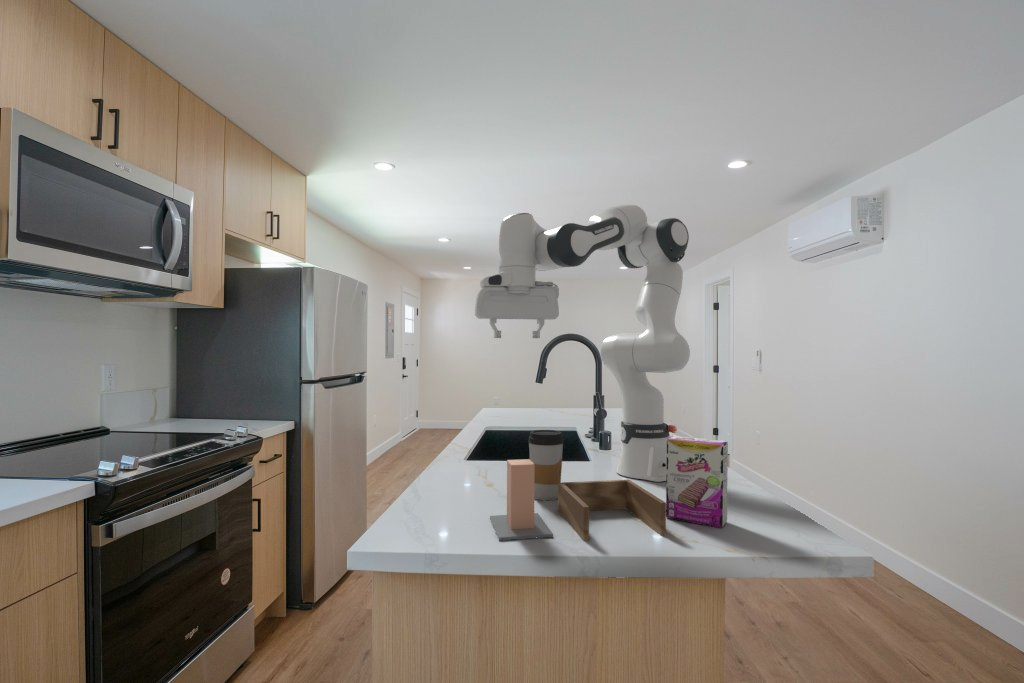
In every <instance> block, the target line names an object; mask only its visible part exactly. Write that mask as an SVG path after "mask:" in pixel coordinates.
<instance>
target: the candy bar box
mask: <svg viewBox="0 0 1024 683" xmlns="http://www.w3.org/2000/svg"><path fill="white" fill-rule="evenodd" d="M728 447H729V443H728V441H726V440H718V439H709V438H701V437H700V438H699V437H690V436H683V435H672V436H670V438H668V439H667V475H666V481H665V483H666V486H665V487H666V488H665V489H666V490H665V493H666V494H665V498H666V499H665V502H666V519H667V518H668V519H670V520H671V519H672V520H677V521H683V522H688V523H693V524H697V525H703V526H708V527H714V528H718V529H719V528H721V529H723V528H724V526H725V525H726V523H727V522H728V467H729V466H728V462H729V461H728V460H729V458H728V457H729V456H728V455H729V454H728V453H729V450H728V449H729V448H728Z"/></svg>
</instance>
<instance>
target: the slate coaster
mask: <svg viewBox="0 0 1024 683" xmlns="http://www.w3.org/2000/svg"><path fill="white" fill-rule="evenodd" d="M489 520H491V521H490V522H492V523H491V525H492V528H493V529H495V530H494V532H495V531H496V532H495V534H496V537H497V536H498V537H497V539H498V541H499V540H503V541H512V540H511V539H518V540H526V539H525V538H534V539H543V537H549V538H554V533H553V532H552V530H551V529H550V528H549V526H548V525H547V523H546V522H545V521H544V519H542V517H541V516H540V514H539V513H538V512H534V528H523V529H511V528H510V527H509V525H508V523H507V514H499V515H489ZM536 537H537V538H536ZM541 537H542V538H541Z"/></svg>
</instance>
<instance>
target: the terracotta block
mask: <svg viewBox="0 0 1024 683" xmlns="http://www.w3.org/2000/svg"><path fill="white" fill-rule="evenodd" d="M534 471H535V464H534V463H533V462H532V461H531V460H530V458H528V459H525V458H524V459H506V515H507V523H508V525H509V527H510V528H511V529H523V528H534V513H535V498H534Z"/></svg>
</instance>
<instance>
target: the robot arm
mask: <svg viewBox="0 0 1024 683" xmlns="http://www.w3.org/2000/svg"><path fill="white" fill-rule="evenodd" d="M689 235H690V234H689V231H688V228H687V226H686V225H685V224H684V222H683V221H682V220H680V219H679V218H677V217H672V218H664V219H661V220H660V221H657V222H653V223H651V224H649V223H648V216H647V215H646V211H645V210H644V209H643V208H641V207H640V206H638V205H636V204H635V205H634V204H622V205H616V206H611V207H609V208H606V209H605V208H604V209H603V210H601V211H598V212H596V213H595V214H594V215H592V216H590V218H589V219H588V222H587V225H583V224H578V223H574V222H569V223H565V224H563V225H559V226H558V227H555V228H551V229H548V230H547V229H546V228H543V227H542V226H541V225H540V224H539V223H538V222H536V220H535V218H534V216H533V214H532V213H529V212H519V213H514V214H511V215H508V216H506V217H504V218H503V219H502V221H501V223H500V228H499V238H498V246H499V247H498V252H499V255H500V261H499V266H498V273H494V274H491V275H488V276H485V277H483V278H482V279H481V280H480V288H481V289H479V291H478V293H477V294H476V298H475V304H474V305H475V306H474V315H475V317H476V318H477V319H479V320H480V319H481V320H483V319H484V320H486V319H487V320H489V325H490V327H491V329H492V330H493V338H494V339H502V330H498V328H497V326H496V324H497V322H498V320H536V325H538V326H537V328H536V329H535V330H532V331H531V332H532V335H531V336H532V337H531V338H532V339H540V337H541V331H542V329H543V327H544V325H545V321H546V320H549V321H550V320H552V321H553V320H556V319H558V317H559V316H560V308H559V301H558V300H559V296H560V288H559V286H558V285H557V284H556V283H554V282H553V281H541V280H540V281H537V280H536V271H539V272H545V271H551V270H557V269H562V268H571V267H579V266H581V265H583V264H584V263H585V262H586V261H587V260H588V258H589V257H590V256H591V255H592V254H593V253H594V252H595V251H597V250H598V251H607V250H615V249H616V250H617V254H618V259H619V260H620V261H621V263H622V264H623V265H624V266H625V267H626V268H628V269H640V268H643V267H646V276H645V277H644V280H643V283H642V287H641V289H640V291H639V295H638V299H637V301H636V305H635V307H634V308H635V310H634V312H635V315H636V318H637V320H638V321H639V322H640V323H642V325H643V326H646V329H645V330H644V331H642V332H621V333H616V334H613V335H609V336H607V337H605V339H604V340H603V341H602V343H601V346H600V351H599V353H600V359H601V361H602V363H603V365H604V366H605V367H606V368H607V369H608V370H609V371H610V372H612V374H613V376H614V378H615V380H616V382H617V384H618V386H619V389H620V395H621V406H622V407H621V408H622V409H621V410H622V421H621V422H620V441H621V448H620V455H619V460H618V464H617V468H616V473H617V474H619V475H620V476H622V477H628V478H632V479H636V480H638V479H640V480H646V481H649V482H650V481H651V482H654V483H655V482H657V483H658V482H666V475H667V439H668V438H670V437H671V436H670V433H672V434H675V433H676V432H677V431H678V427H677V426H676V425H674V424H668V423H665V421H664V419H665V418H664V417H665V416H664V410H665V408H664V404H665V403H664V400H665V399H664V395H663V393H662V392H661V390H660V389H658V387H657V388H656V387H655V386H654V385H652V384H651V382H650V381H649V379H648V377H647V373H657V374H658V373H659V374H666V373H672V372H677V371H682V370H683V369H684V368H685V367H686V366H687V364H688V362H689V360H690V357H691V349H690V345H689V342H688V340H686V338H684V336H683V335H682V334H680V332H679V331H678V330H677V327H676V324H675V323H676V322H675V321H676V314H677V309H678V306H679V305H678V304H679V301H680V297H681V293H682V286H683V279H684V278H683V276H684V272H683V268H682V266H681V265H680V263H679V262H680V261H682V259H683V258H684V257H685V255H686V250H687V248H688V244H689V239H690V238H689V237H690V236H689Z"/></svg>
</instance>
